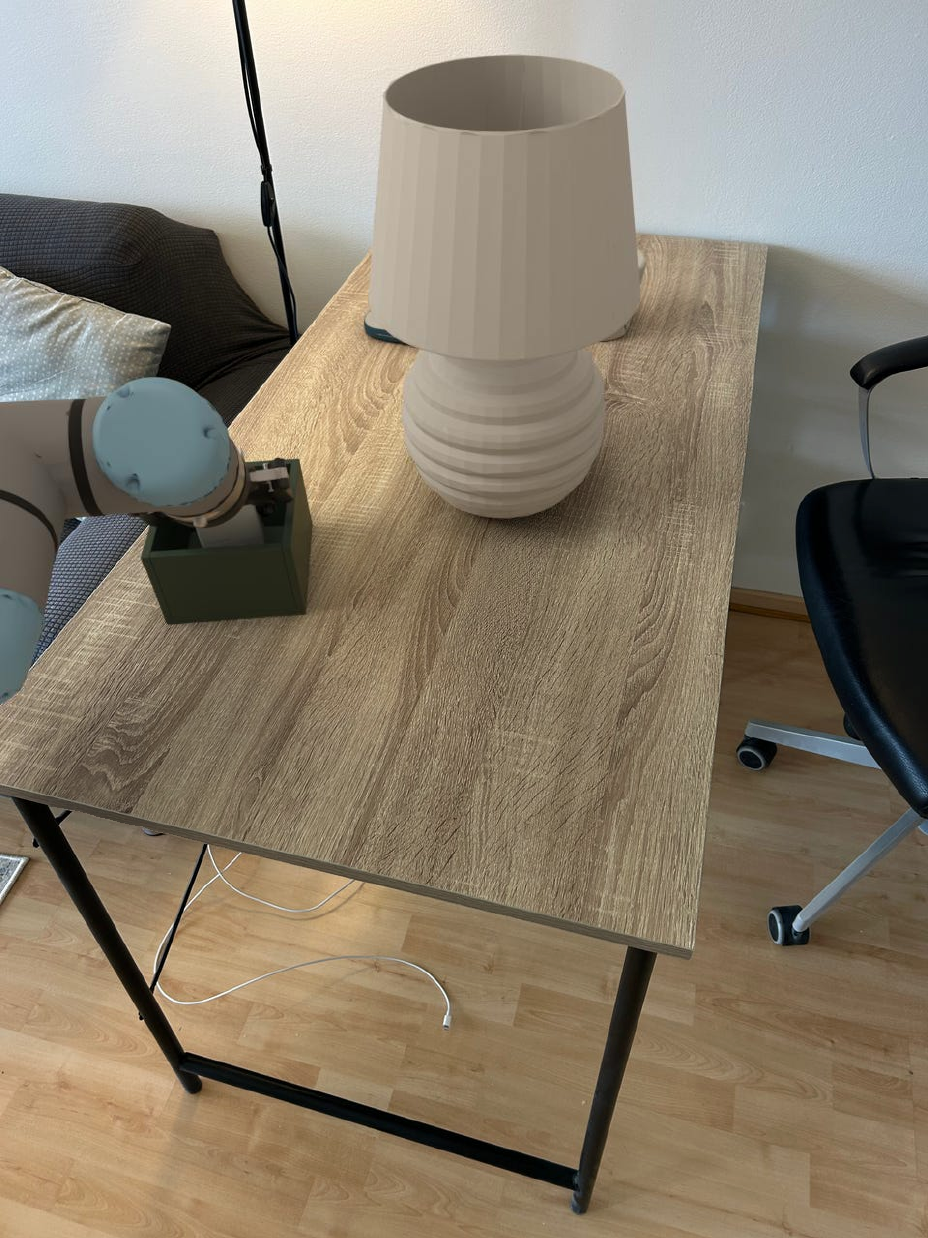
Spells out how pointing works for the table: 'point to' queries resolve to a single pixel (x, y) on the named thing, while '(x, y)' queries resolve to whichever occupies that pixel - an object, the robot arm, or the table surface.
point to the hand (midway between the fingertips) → (229, 509)
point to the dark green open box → (234, 566)
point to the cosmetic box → (236, 529)
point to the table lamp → (504, 269)
